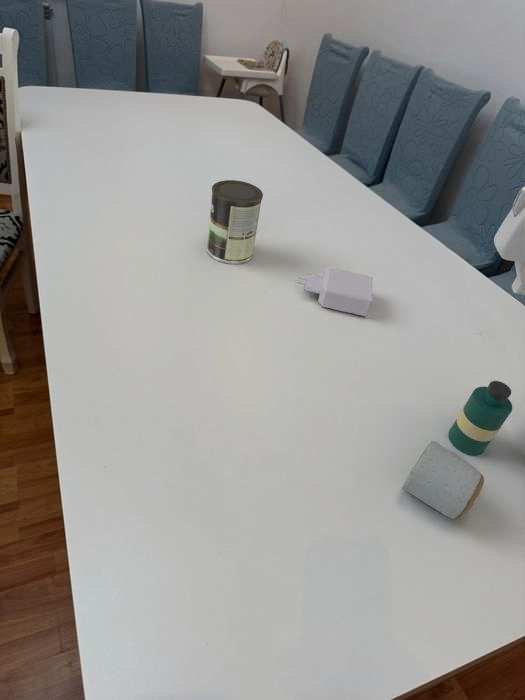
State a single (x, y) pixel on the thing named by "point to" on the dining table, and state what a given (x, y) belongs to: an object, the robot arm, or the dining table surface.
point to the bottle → (481, 418)
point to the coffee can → (233, 221)
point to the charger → (341, 290)
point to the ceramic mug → (444, 481)
